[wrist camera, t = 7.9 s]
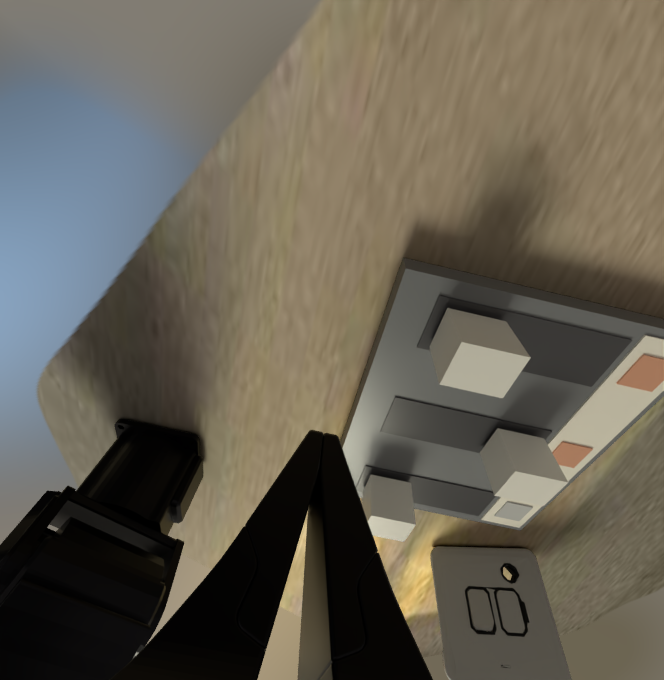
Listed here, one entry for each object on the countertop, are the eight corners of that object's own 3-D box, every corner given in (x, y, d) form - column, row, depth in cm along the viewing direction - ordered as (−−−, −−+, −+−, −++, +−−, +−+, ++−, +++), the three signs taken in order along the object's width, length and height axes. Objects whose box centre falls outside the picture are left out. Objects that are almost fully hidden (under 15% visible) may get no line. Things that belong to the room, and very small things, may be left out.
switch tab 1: (362, 492, 25) (361, 533, 23) (370, 474, 24) (371, 515, 22) (400, 500, 25) (403, 541, 23) (410, 482, 24) (415, 524, 22)
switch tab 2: (429, 347, 18) (439, 384, 15) (447, 307, 16) (461, 341, 14) (483, 359, 18) (502, 398, 15) (506, 321, 16) (530, 357, 14)
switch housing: (329, 473, 28) (327, 493, 26) (403, 257, 17) (406, 270, 16) (513, 512, 28) (521, 533, 27) (695, 326, 18) (724, 344, 16)
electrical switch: (533, 545, 31) (584, 689, 24) (522, 565, 34) (563, 698, 27) (429, 542, 32) (447, 677, 25) (427, 561, 35) (443, 686, 28)
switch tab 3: (479, 452, 22) (494, 495, 19) (497, 428, 20) (515, 471, 18) (523, 461, 22) (543, 506, 19) (544, 438, 20) (568, 482, 18)
